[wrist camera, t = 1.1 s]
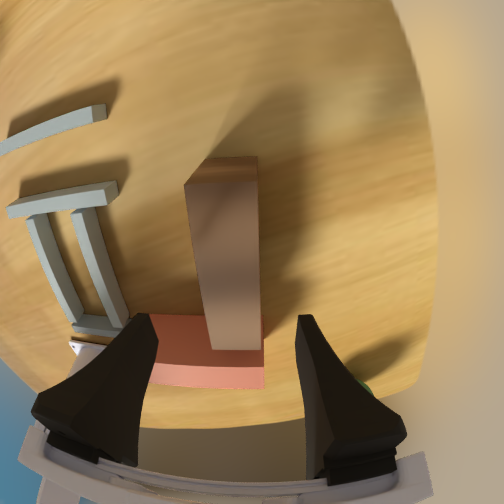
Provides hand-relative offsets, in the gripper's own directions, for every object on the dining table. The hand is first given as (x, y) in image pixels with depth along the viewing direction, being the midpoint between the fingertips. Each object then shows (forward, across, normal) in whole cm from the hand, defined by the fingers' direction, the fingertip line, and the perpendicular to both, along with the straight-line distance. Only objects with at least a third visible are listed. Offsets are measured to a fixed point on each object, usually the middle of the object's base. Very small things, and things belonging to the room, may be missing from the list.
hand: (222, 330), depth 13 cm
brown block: (+10, 0, 0) cm, 10 cm away
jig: (+9, +15, -1) cm, 18 cm away
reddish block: (+10, +4, +10) cm, 14 cm away
